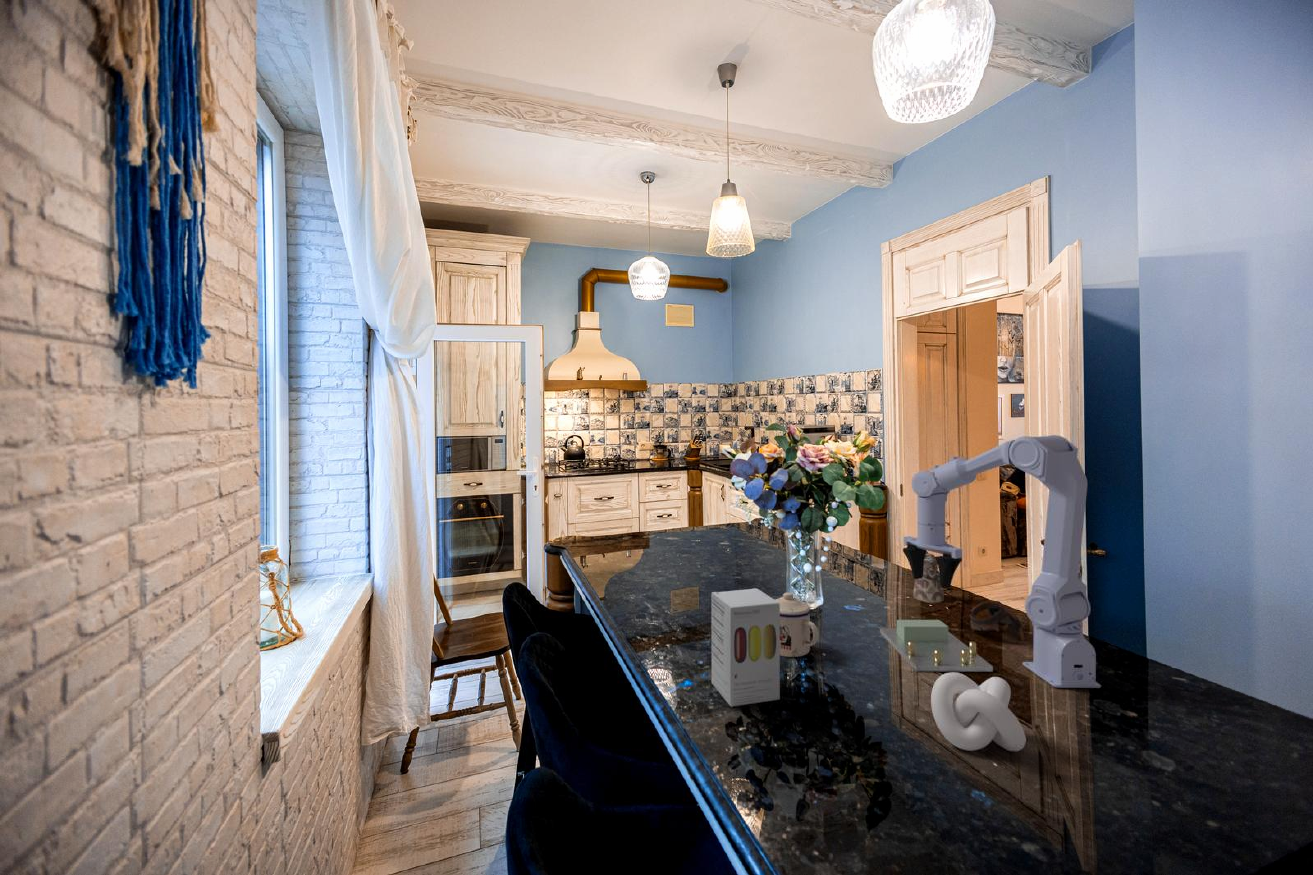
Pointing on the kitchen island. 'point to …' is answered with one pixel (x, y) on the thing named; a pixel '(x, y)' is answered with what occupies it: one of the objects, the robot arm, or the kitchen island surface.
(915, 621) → the pale green block
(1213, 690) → the kitchen island surface
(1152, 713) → the kitchen island surface
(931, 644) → the chassis
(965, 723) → the white decorative knot
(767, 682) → the supplement box
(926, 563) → the figurine
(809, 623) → the teacup with lid
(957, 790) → the kitchen island surface
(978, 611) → the pottery mug
